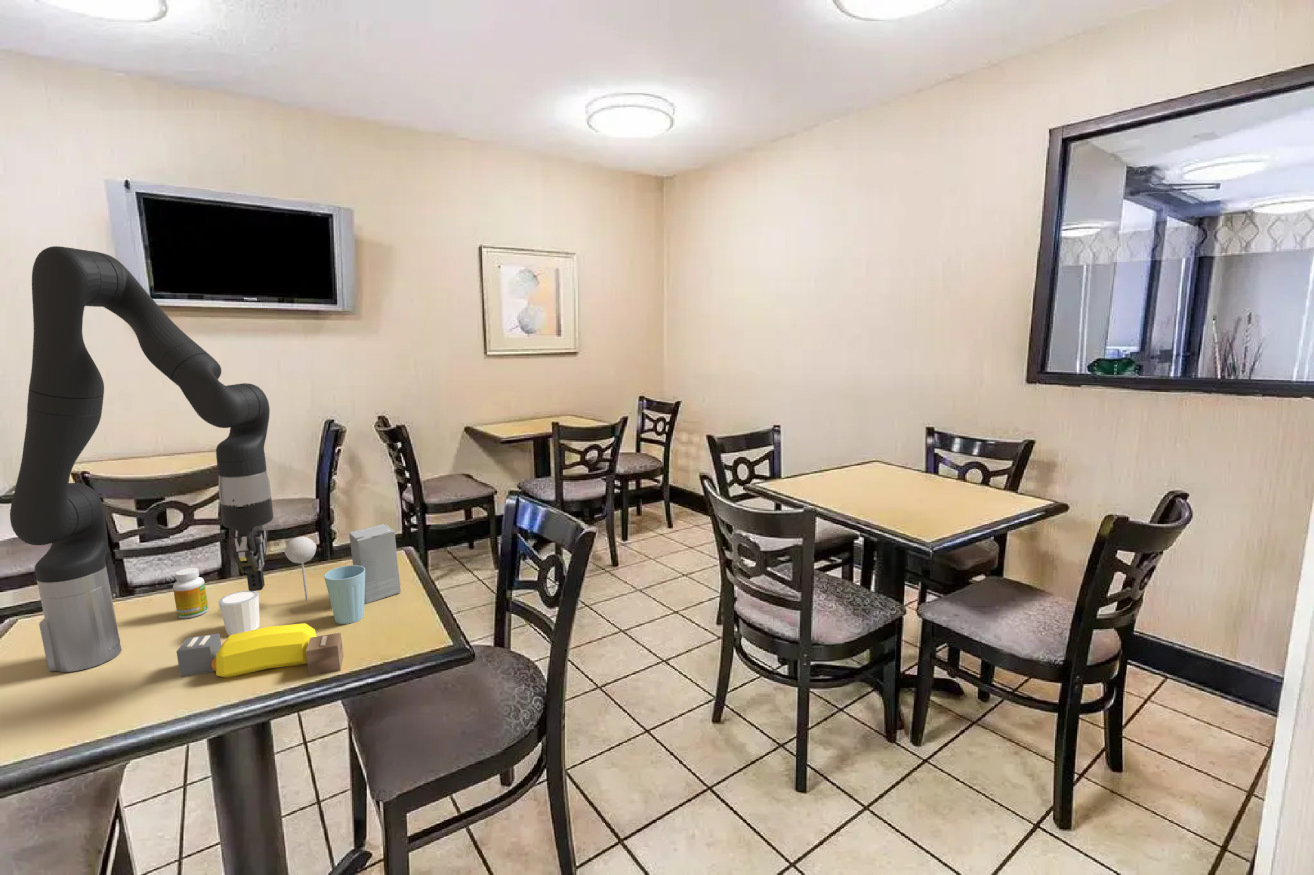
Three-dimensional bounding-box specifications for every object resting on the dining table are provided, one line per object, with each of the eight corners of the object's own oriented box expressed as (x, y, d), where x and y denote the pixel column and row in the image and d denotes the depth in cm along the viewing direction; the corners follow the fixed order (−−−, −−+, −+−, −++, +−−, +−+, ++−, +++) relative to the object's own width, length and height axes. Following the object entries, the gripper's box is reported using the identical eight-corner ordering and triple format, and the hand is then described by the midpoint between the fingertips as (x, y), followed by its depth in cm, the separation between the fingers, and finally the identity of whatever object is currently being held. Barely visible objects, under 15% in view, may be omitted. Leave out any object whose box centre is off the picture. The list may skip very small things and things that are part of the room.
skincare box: (391, 585, 146) (385, 521, 143) (402, 594, 141) (397, 529, 138) (354, 595, 140) (347, 530, 137) (364, 606, 135) (357, 538, 132)
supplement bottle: (208, 614, 131) (201, 572, 130) (176, 621, 128) (169, 578, 127) (209, 605, 136) (202, 564, 134) (178, 611, 133) (171, 569, 131)
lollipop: (314, 592, 142) (307, 531, 139) (327, 598, 139) (320, 536, 136) (286, 602, 137) (278, 538, 134) (298, 609, 134) (290, 544, 131)
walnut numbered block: (309, 676, 108) (305, 649, 107) (313, 662, 113) (310, 636, 112) (340, 671, 110) (337, 644, 109) (343, 657, 115) (340, 631, 114)
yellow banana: (218, 663, 113) (205, 686, 106) (213, 630, 112) (200, 651, 104) (328, 645, 119) (322, 665, 112) (324, 613, 118) (318, 631, 111)
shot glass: (215, 632, 124) (211, 600, 123) (251, 618, 130) (246, 587, 129) (234, 640, 121) (230, 607, 119) (270, 625, 127) (266, 593, 125)
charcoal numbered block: (180, 677, 108) (176, 650, 107) (191, 662, 113) (187, 636, 112) (213, 672, 110) (209, 645, 109) (223, 657, 114) (219, 632, 114)
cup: (377, 610, 133) (372, 565, 131) (355, 628, 125) (350, 580, 123) (345, 608, 134) (340, 564, 132) (321, 625, 126) (316, 578, 124)
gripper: (232, 489, 112) (242, 577, 116) (208, 510, 100) (221, 608, 103) (278, 486, 115) (288, 572, 118) (261, 505, 103) (272, 601, 106)
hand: (256, 589), depth 111 cm, fingers closed
